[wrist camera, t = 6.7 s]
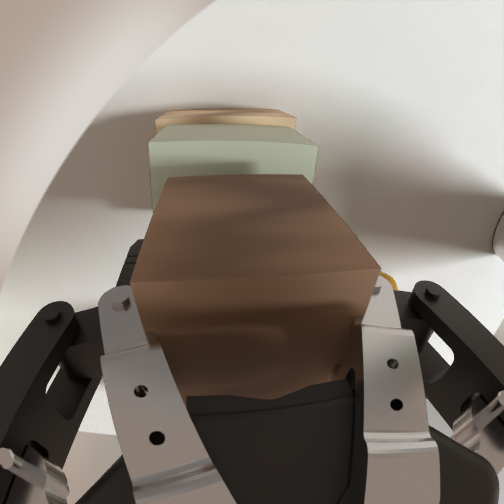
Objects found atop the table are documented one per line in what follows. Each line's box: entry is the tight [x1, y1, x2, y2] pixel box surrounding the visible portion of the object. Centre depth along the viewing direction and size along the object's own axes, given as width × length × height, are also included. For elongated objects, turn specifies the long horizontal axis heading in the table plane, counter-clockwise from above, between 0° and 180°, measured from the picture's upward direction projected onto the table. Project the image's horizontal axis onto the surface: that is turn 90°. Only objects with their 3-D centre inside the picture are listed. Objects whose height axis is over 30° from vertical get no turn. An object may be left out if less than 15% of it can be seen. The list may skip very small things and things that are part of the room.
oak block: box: [155, 109, 296, 135], centre depth 19 cm, size 8×8×5 cm
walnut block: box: [130, 174, 381, 407], centre depth 9 cm, size 5×5×6 cm
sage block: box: [148, 124, 318, 213], centre depth 15 cm, size 7×7×5 cm
